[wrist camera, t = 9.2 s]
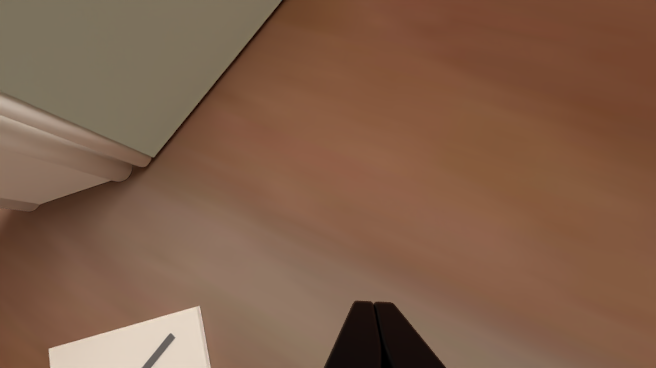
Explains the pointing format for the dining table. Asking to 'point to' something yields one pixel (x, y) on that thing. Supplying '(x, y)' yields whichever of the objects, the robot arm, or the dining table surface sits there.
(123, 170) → the fence fixed section
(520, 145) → the dining table surface
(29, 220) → the dining table surface
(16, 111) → the panel
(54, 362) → the card
